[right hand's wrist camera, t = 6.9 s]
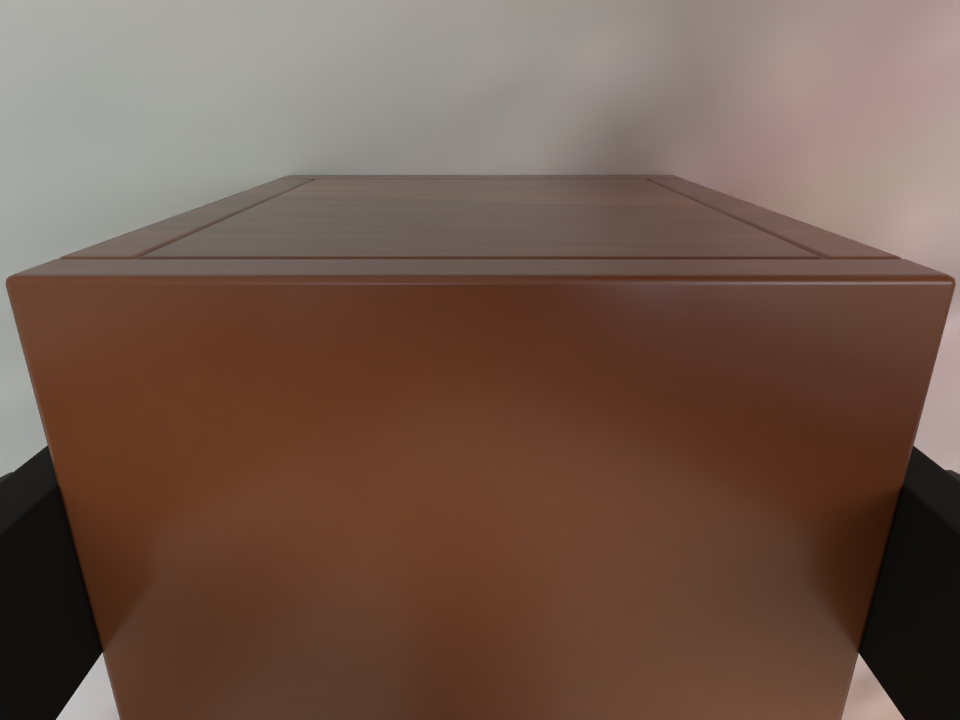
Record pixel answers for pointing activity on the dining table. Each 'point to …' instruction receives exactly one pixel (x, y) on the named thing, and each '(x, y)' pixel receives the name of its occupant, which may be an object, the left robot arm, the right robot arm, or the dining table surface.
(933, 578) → the right robot arm
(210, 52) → the dining table surface
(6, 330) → the dining table surface
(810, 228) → the cabinet
